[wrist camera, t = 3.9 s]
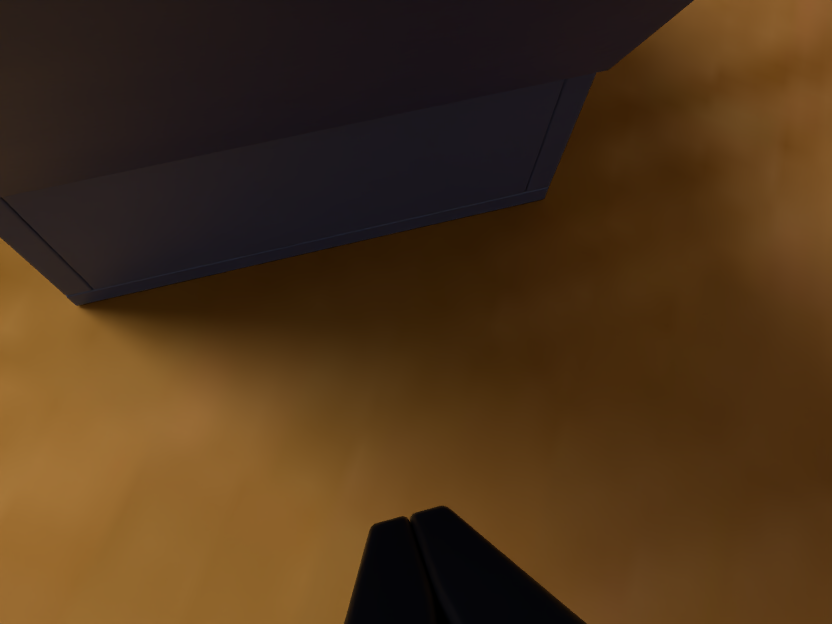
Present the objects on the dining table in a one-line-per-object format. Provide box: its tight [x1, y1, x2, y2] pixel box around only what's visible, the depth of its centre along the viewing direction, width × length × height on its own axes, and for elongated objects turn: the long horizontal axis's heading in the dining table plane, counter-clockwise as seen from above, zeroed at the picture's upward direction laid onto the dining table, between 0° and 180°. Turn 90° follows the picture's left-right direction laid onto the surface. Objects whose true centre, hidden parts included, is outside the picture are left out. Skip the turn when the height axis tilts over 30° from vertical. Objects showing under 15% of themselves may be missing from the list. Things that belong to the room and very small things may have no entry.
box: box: [0, 73, 596, 305], centre depth 22 cm, size 11×15×7 cm
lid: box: [0, 0, 694, 198], centre depth 11 cm, size 11×15×1 cm
